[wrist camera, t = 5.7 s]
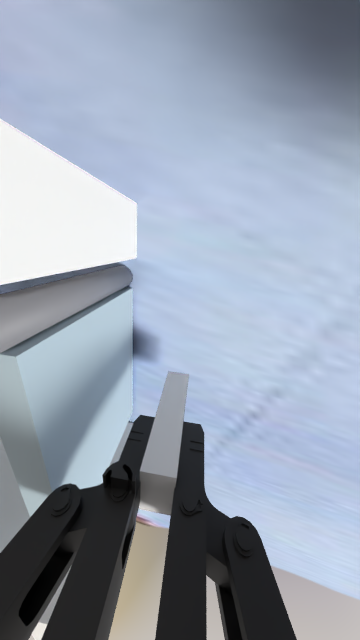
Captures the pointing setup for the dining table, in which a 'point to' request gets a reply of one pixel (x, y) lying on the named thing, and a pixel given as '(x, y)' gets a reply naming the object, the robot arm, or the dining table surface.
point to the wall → (57, 229)
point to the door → (65, 379)
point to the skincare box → (10, 502)
